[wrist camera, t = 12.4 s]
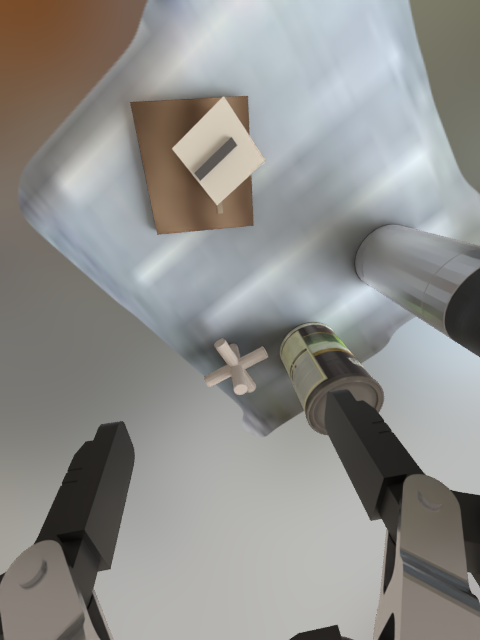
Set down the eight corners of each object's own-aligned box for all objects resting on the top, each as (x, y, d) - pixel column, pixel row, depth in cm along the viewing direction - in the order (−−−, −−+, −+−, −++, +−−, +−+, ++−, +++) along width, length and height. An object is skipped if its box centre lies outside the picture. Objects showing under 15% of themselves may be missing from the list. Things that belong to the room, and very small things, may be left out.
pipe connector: (190, 340, 44) (188, 381, 35) (245, 310, 43) (257, 346, 34) (221, 380, 48) (226, 426, 40) (271, 355, 47) (288, 396, 39)
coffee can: (323, 310, 44) (370, 363, 32) (344, 352, 49) (393, 412, 37) (268, 342, 46) (293, 404, 34) (294, 380, 51) (325, 447, 38)
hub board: (245, 100, 30) (248, 95, 28) (250, 223, 37) (253, 225, 35) (134, 106, 29) (129, 101, 27) (159, 231, 36) (157, 234, 34)
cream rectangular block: (218, 112, 29) (224, 94, 22) (252, 163, 32) (267, 160, 25) (177, 153, 30) (171, 148, 24) (213, 199, 33) (217, 206, 26)
